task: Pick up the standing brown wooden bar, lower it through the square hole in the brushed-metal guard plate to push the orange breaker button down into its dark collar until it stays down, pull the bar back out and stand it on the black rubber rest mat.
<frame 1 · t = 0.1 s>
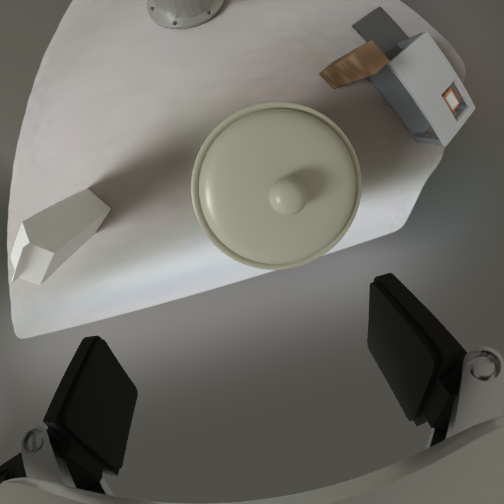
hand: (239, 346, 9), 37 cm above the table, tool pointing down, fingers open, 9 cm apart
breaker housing: (409, 90, 38), on the table
canister: (261, 170, 43), on the table
breaker button: (444, 100, 34), point 6 cm above the table, slide at 0.0 cm
milk: (91, 210, 43), on the table
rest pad: (382, 33, 34), on the table
brown wooden bar: (332, 75, 37), on the table
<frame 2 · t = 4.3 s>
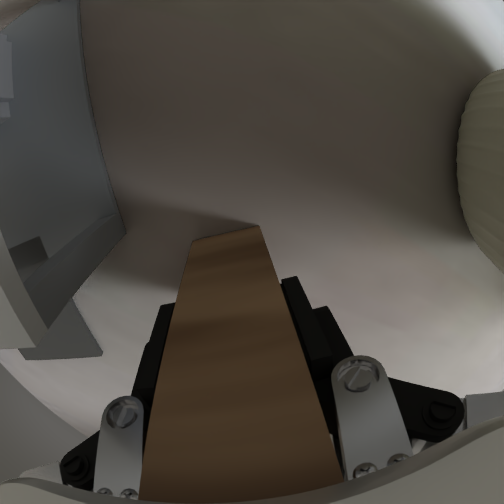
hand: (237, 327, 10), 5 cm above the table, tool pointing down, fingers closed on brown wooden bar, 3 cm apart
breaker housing: (10, 134, 10), on the table
canister: (496, 161, 14), on the table
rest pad: (30, 307, 15), on the table
brown wooden bar: (233, 263, 15), on the table, touching gripper
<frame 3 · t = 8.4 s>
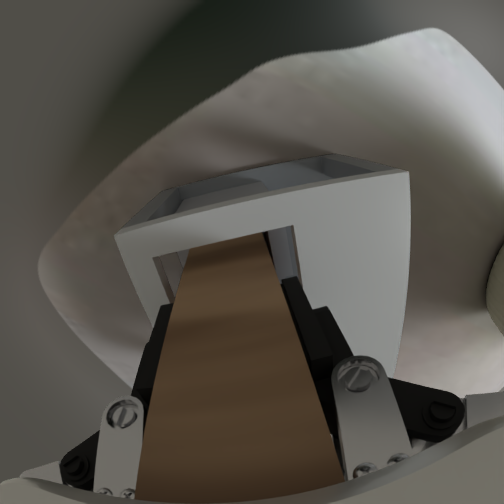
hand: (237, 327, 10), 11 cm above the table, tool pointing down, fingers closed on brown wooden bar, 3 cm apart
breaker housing: (271, 275, 21), on the table
brown wooden bar: (233, 262, 15), point 5 cm above the table, touching breaker button, gripper
when the fingers open (7 cm above the table, at t = 13.9 s): brown wooden bar drops 1 cm, resting on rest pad.
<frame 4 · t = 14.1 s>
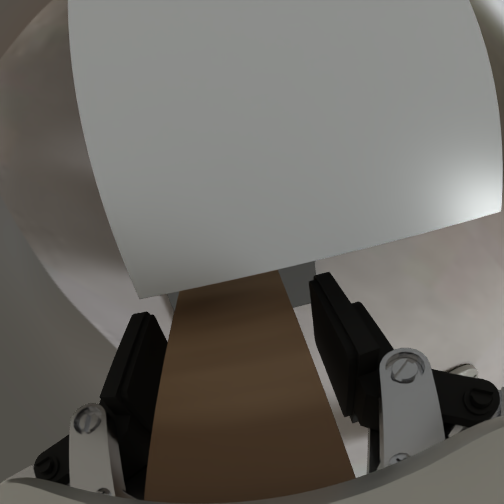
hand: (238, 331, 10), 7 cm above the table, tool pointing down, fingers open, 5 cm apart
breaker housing: (262, 45, 12), on the table
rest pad: (232, 251, 16), on the table
brown wooden bar: (232, 253, 16), resting on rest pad
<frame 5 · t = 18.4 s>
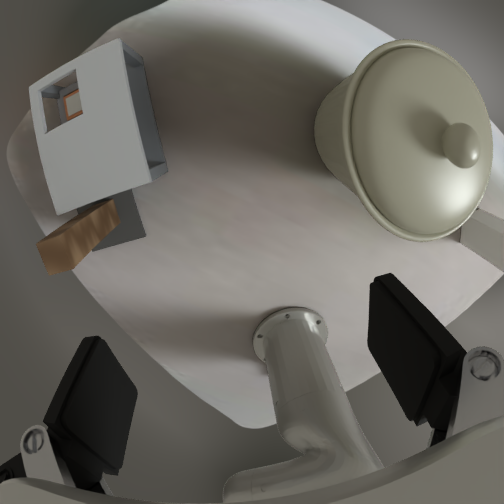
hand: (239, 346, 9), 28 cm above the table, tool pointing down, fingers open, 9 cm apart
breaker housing: (111, 127, 30), on the table
canister: (356, 133, 33), on the table
breaker button: (82, 104, 26), point 3 cm above the table, slide at -2.6 cm
milk: (469, 225, 40), on the table
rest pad: (107, 213, 34), on the table
brown wooden bar: (106, 213, 34), resting on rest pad
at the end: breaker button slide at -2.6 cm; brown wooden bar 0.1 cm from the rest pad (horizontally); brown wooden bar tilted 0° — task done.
